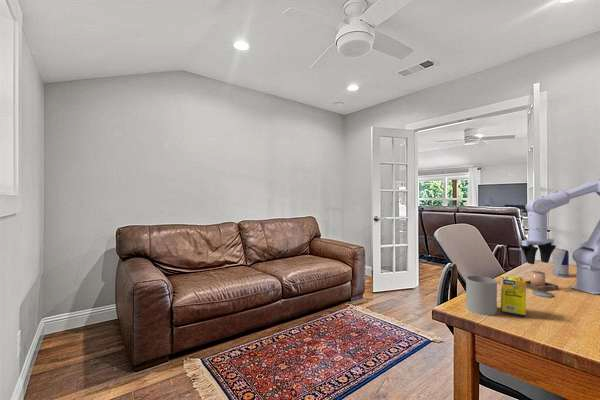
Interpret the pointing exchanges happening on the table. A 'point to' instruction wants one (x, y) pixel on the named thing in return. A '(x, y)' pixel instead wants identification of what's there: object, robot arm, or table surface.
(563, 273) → the energy drink
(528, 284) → the frame
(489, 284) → the cup
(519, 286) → the supplement box
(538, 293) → the glossy gray dome
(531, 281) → the clay pot
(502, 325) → the table surface
